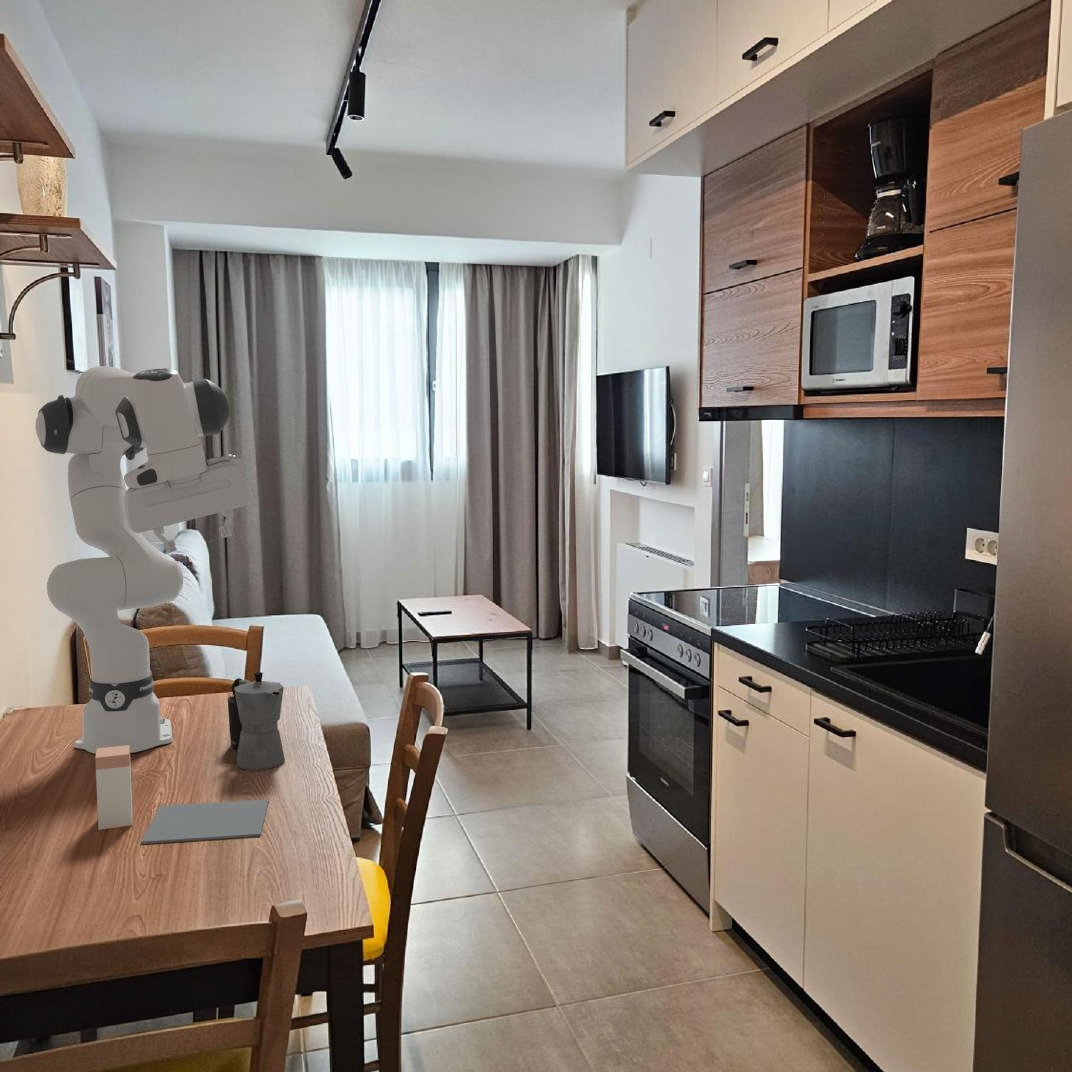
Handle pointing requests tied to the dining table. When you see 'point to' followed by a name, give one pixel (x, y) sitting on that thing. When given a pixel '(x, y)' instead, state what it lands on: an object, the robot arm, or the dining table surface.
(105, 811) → the pillar
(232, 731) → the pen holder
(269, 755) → the coffeepot
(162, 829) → the mat
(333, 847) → the dining table surface
